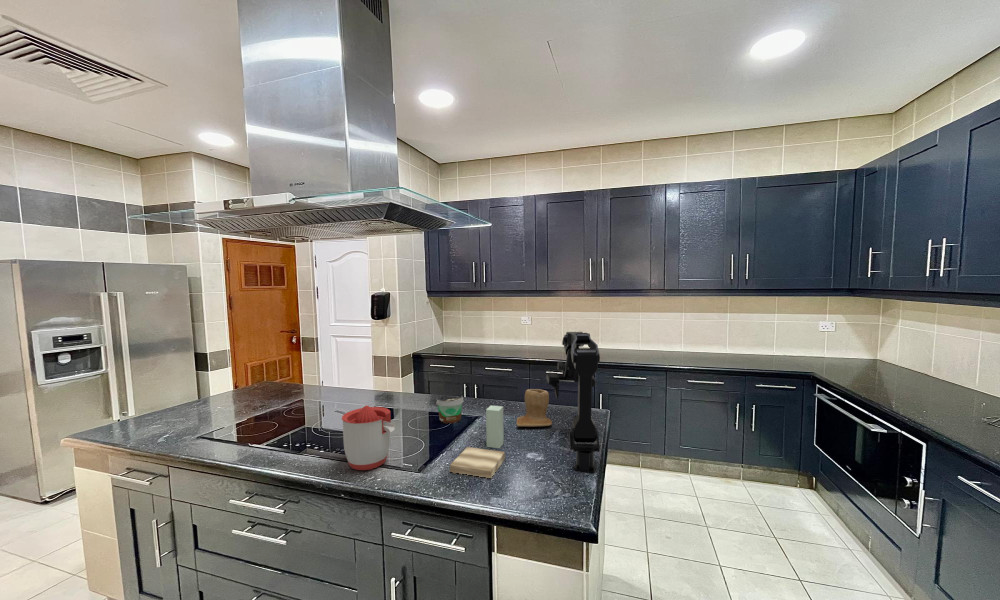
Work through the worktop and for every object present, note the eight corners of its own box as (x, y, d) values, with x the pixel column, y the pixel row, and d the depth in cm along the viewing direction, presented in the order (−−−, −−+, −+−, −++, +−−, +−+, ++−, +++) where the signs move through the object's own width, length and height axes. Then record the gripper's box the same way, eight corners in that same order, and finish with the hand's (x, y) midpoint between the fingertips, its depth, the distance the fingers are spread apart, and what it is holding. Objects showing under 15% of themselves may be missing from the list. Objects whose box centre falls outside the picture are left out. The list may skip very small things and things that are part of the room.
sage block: (499, 448, 140) (498, 410, 140) (486, 446, 142) (486, 409, 141) (503, 442, 145) (503, 406, 144) (491, 441, 147) (490, 405, 146)
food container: (440, 426, 162) (439, 403, 162) (436, 421, 168) (436, 399, 168) (467, 421, 167) (467, 399, 167) (463, 417, 173) (462, 395, 173)
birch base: (491, 479, 118) (490, 471, 118) (450, 472, 123) (449, 465, 123) (504, 459, 132) (504, 452, 132) (467, 453, 136) (467, 446, 136)
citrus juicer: (383, 476, 121) (381, 414, 120) (333, 472, 124) (331, 412, 123) (404, 454, 137) (402, 399, 136) (359, 451, 139) (357, 397, 138)
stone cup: (549, 419, 169) (548, 385, 169) (553, 429, 157) (553, 393, 157) (515, 419, 169) (514, 386, 168) (516, 430, 157) (516, 394, 156)
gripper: (590, 356, 157) (585, 390, 161) (546, 353, 156) (541, 388, 159) (599, 367, 146) (593, 404, 150) (551, 364, 145) (546, 402, 149)
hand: (568, 399), depth 152 cm, fingers open, 9 cm apart
